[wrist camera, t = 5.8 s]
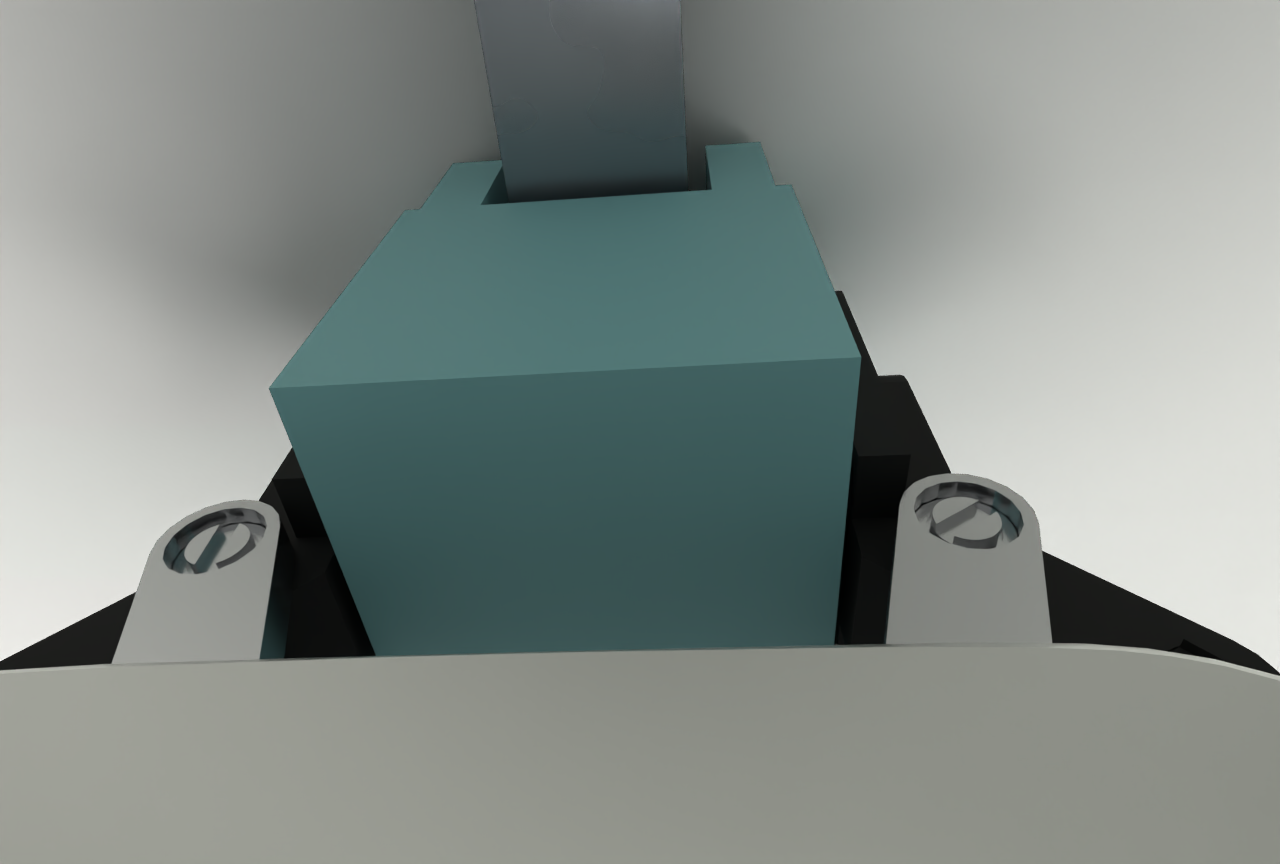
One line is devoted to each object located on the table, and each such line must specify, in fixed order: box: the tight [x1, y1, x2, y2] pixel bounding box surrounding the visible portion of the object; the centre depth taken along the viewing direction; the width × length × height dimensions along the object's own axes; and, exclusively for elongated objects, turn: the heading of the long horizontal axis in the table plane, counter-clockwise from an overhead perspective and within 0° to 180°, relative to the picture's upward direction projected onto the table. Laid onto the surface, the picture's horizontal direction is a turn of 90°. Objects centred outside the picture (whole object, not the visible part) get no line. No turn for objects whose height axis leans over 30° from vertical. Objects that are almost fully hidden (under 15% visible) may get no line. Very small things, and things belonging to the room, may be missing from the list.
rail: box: [474, 0, 688, 203], centre depth 14 cm, size 20×2×2 cm, turn 4°
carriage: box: [269, 142, 861, 656], centre depth 11 cm, size 6×5×6 cm
